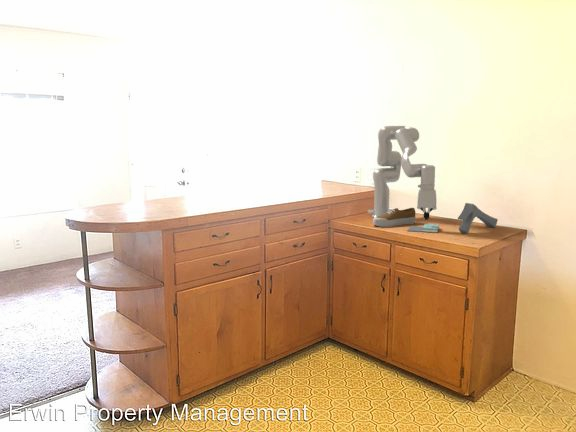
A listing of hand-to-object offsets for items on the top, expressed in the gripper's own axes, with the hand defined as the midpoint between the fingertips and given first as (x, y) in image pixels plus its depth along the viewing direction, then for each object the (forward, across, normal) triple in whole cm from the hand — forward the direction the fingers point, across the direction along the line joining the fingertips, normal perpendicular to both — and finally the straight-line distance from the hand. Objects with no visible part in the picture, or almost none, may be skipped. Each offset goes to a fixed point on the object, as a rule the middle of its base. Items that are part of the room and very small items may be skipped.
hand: (426, 219), depth 278 cm
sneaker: (+6, -20, +11) cm, 24 cm away
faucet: (+6, +27, +8) cm, 29 cm away
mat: (+6, -2, 0) cm, 6 cm away
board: (+5, -1, 0) cm, 5 cm away
